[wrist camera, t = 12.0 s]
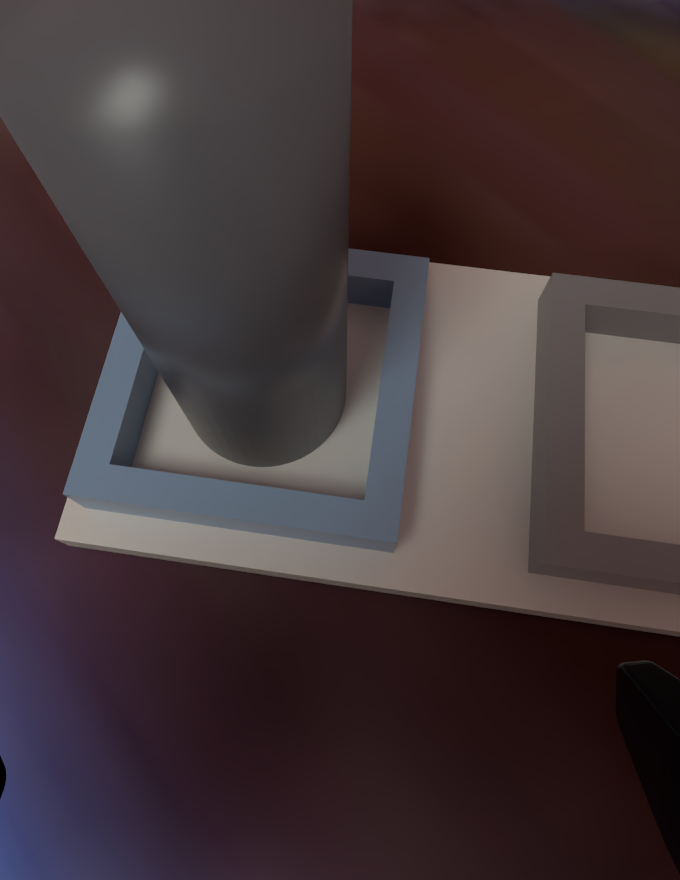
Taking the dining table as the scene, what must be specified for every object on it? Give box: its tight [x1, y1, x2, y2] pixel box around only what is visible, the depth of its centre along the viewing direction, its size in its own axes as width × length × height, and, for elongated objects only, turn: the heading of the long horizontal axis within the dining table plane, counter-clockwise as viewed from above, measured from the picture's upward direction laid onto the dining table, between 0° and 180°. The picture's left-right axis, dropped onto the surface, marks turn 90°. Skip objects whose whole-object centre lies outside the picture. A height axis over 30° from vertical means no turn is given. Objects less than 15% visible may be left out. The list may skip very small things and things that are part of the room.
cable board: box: [55, 248, 680, 637], centre depth 18 cm, size 23×11×2 cm, turn 82°
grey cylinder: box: [0, 0, 352, 467], centre depth 13 cm, size 5×5×12 cm
